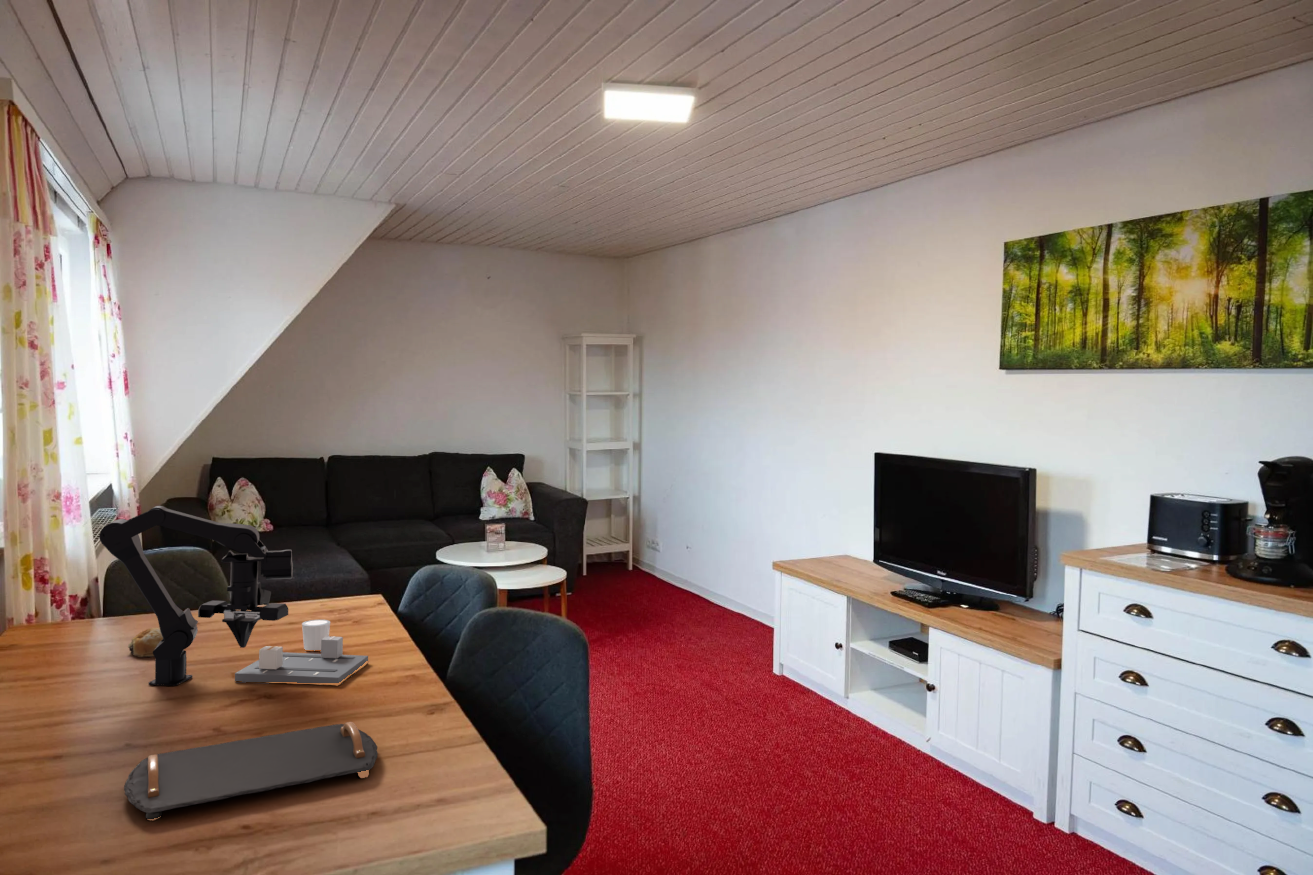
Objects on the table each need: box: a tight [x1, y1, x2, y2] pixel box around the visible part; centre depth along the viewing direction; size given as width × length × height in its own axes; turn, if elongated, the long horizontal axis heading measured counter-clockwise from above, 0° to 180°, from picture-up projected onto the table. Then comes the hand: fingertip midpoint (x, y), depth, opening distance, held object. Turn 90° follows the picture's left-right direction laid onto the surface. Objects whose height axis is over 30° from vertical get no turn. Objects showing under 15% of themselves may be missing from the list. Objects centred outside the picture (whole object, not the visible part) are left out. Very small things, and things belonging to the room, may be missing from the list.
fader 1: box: [258, 645, 284, 669], centre depth 194 cm, size 3×4×4 cm
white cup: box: [301, 619, 331, 651], centre depth 217 cm, size 7×7×7 cm
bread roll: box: [127, 627, 163, 658], centre depth 211 cm, size 10×10×8 cm
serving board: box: [123, 721, 379, 819], centre depth 143 cm, size 39×23×6 cm, turn 122°
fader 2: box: [320, 635, 344, 658], centre depth 203 cm, size 3×4×4 cm
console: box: [234, 651, 369, 683], centre depth 198 cm, size 17×24×2 cm
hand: (243, 647), depth 194 cm, fingers closed
